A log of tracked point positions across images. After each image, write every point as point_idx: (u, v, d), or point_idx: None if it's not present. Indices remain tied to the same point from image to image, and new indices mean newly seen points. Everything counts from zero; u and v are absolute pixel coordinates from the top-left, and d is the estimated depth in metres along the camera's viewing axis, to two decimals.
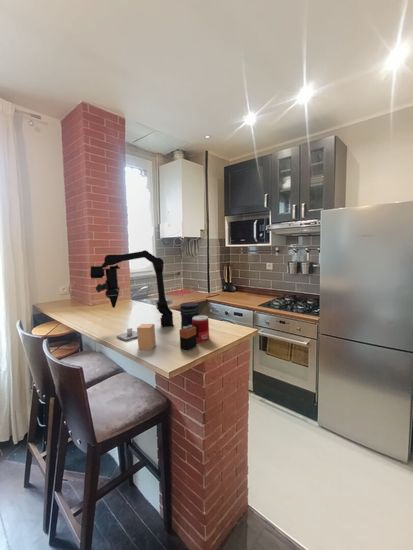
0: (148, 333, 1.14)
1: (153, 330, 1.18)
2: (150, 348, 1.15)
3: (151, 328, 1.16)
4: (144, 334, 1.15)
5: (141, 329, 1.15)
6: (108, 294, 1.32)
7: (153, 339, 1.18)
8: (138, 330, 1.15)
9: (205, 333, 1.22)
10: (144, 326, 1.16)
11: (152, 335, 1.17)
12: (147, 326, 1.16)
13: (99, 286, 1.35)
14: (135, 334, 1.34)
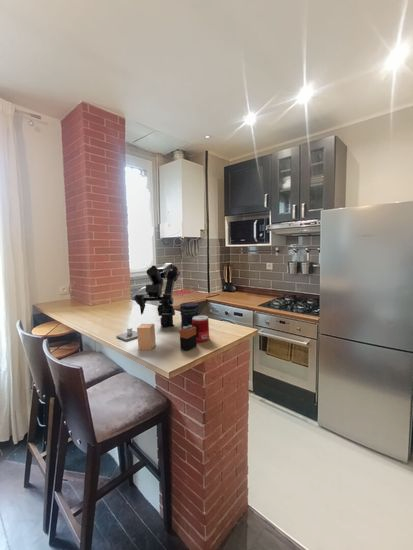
0: (148, 333, 1.14)
1: (153, 330, 1.18)
2: (150, 348, 1.15)
3: (151, 328, 1.16)
4: (144, 334, 1.15)
5: (141, 329, 1.15)
6: (171, 298, 1.27)
7: (153, 339, 1.18)
8: (138, 330, 1.15)
9: (205, 333, 1.22)
10: (144, 326, 1.16)
11: (152, 335, 1.17)
12: (147, 326, 1.16)
13: (160, 286, 1.27)
14: (135, 334, 1.34)
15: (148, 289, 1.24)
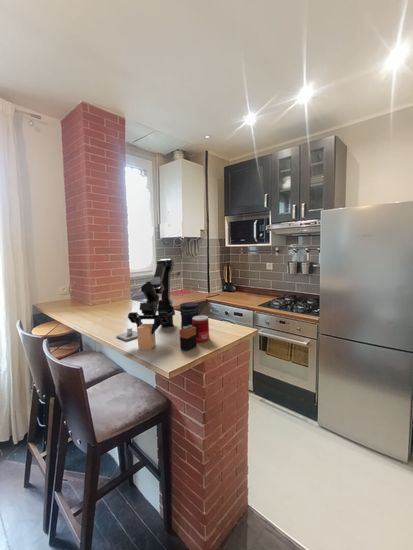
0: (148, 333, 1.14)
1: None
2: (150, 348, 1.15)
3: (151, 328, 1.16)
4: (144, 334, 1.15)
5: (141, 329, 1.15)
6: (167, 316, 1.19)
7: (153, 339, 1.18)
8: (138, 330, 1.15)
9: (205, 333, 1.22)
10: (144, 326, 1.16)
11: (152, 335, 1.17)
12: (147, 326, 1.16)
13: (155, 304, 1.18)
14: (135, 334, 1.34)
15: (142, 307, 1.16)
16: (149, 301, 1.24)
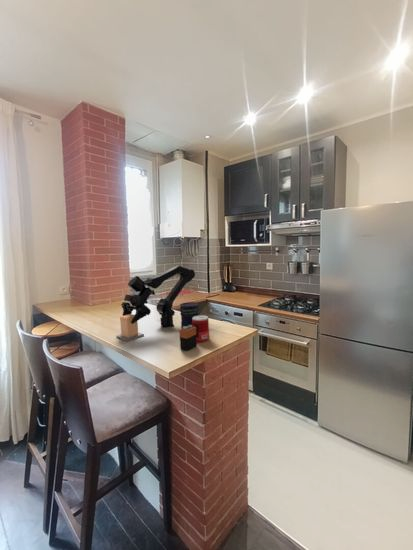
0: (126, 322, 1.29)
1: None
2: (127, 336, 1.30)
3: (130, 319, 1.30)
4: (124, 323, 1.31)
5: (122, 318, 1.31)
6: (144, 309, 1.29)
7: (133, 329, 1.32)
8: (120, 319, 1.32)
9: (205, 333, 1.22)
10: (126, 316, 1.32)
11: (131, 325, 1.31)
12: (128, 316, 1.31)
13: (136, 297, 1.31)
14: None
15: (125, 299, 1.32)
16: (139, 294, 1.38)
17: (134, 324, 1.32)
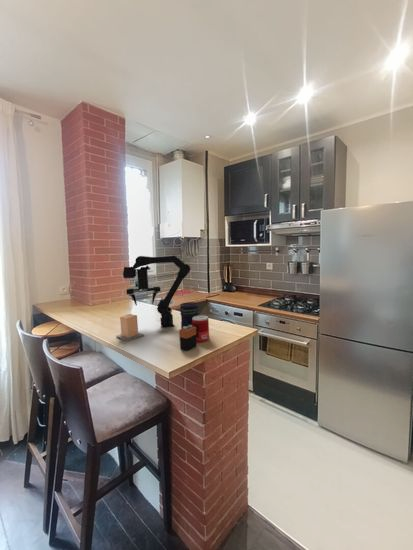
0: (126, 322, 1.29)
1: (134, 321, 1.32)
2: (127, 336, 1.30)
3: (130, 319, 1.30)
4: (124, 323, 1.31)
5: (122, 318, 1.31)
6: None
7: (133, 329, 1.32)
8: (120, 319, 1.32)
9: (205, 333, 1.22)
10: (126, 316, 1.32)
11: (131, 325, 1.31)
12: (128, 316, 1.31)
13: (135, 283, 1.53)
14: None
15: None
16: None
17: (134, 324, 1.32)
